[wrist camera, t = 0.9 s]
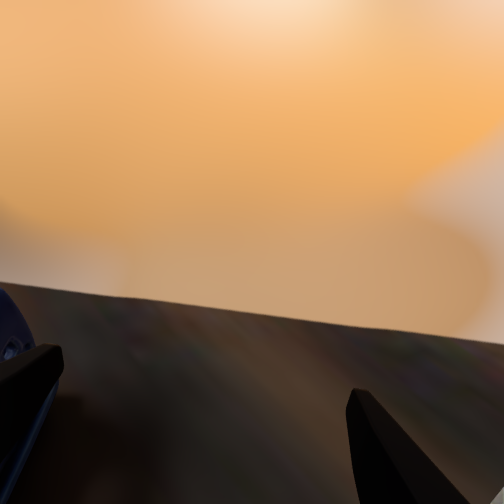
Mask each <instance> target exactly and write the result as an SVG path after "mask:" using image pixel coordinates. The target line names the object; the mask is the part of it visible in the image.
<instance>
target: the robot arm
mask: <svg viewBox="0 0 504 504" xmlns="http://www.w3.org/2000/svg"><path fill="white" fill-rule="evenodd" d="M63 369H64V361H63V355H62V349H61V347H60V345H58V344H51V343H44V344H42V345H39V346H37V347H35V348H33V349H30V350H28V351H26V352H24V353H21V354H19V355H17V356H15V357H12V358H10V359H8V360H6V361H3V362H1V363H0V464H1V463H2V461H3V460H4V459H5V457H6V456H7V455H8V453H9V452H10V451H11V449H12V448H13V447H14V445H15V444H16V443H17V441H18V440H19V438H20V437H21V436H22V434H23V433H24V432H25V430H26V429H27V428H28V426H29V425H30V423H31V422H32V420H33V419H34V417H35V416H36V414H37V413H38V411H39V410H40V408H41V406H42V405H43V403H44V401H45V400H46V398H47V397H48V395H49V393H50V392H51V390H52V388H53V387H54V385H55V384H56V382H57V380H58V379H59V377H60V376H61V374H62V372H63ZM346 421H347V429H348V437H349V445H350V453H351V460H352V468H353V474H354V479H355V484H356V488H357V492H358V497H359V501H360V504H470V503H469V502H468V501H467V500H466V499H465V497H464V496H463V495H462V494H461V493H460V492H459V491H458V490H457V489H456V487H455V486H454V485H453V484H452V483H451V482H450V481H449V480H448V479H447V477H446V476H445V475H444V474H443V473H442V472H441V471H440V470H439V469H438V467H437V466H436V465H435V464H434V463H433V462H432V461H431V460H430V459H429V457H428V456H427V455H426V454H425V453H424V452H423V451H422V450H421V449H420V447H419V446H418V445H417V444H416V443H415V442H414V441H413V440H412V439H411V437H410V436H409V435H408V434H407V433H406V432H405V431H404V430H403V429H402V427H401V426H400V425H399V424H398V423H397V422H396V421H395V420H394V419H393V417H392V416H391V415H390V414H389V413H388V412H387V411H386V410H385V409H384V408H383V406H382V405H381V404H380V403H379V402H378V401H377V400H376V399H375V398H374V396H373V395H372V394H371V393H370V392H369V391H368V390H366V389H359V388H354V389H353V390H352V391H351V394H350V397H349V400H348V403H347V407H346Z"/></svg>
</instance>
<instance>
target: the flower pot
mask: <svg viewBox="0 0 504 504" xmlns="http://www.w3.org/2000/svg"><path fill="white" fill-rule="evenodd" d="M35 347H36V346H35V342H34V339H33V336H32V333H31V331H30V329H29V327H28V325H27V323H26V321H25V319H24V317H23V315H22V314H21V312H20V310H19V309H18V307H17V306H16V304H15V303H14V302H13V300H12V299H11V298H10V296H9V295H8V294H7V293H6V292H5V291H4V290H3V289H2V288H0V363H1V362H3V361H6V360H8V359H10V358H12V357H15V356H17V355H19V354H21V353H24V352H26V351H28V350H30V349H33V348H35ZM58 385H59V380H57V382H56V384H55V385H54V387H53V388H52V390H51V392H50V393H49V395H48V397H47V398H46V400H45V401H44V403H43V405H42V406H41V408H40V410H39V411H38V413H37V414H36V416H35V417H34V419H33V420H32V422H31V423H30V425H29V426H28V428H27V429H26V430H25V432H24V433H23V434H22V436H21V437H20V438H19V440H18V441H17V443H16V444H15V445H14V447H13V448H12V449H11V451H10V452H9V453H8V455H7V456H6V457H5V459H4V460H3V461H2V463H1V464H0V504H6V503H7V501H8V499H9V497H10V495H11V493H12V490H13V488H14V486H15V484H16V482H17V480H18V477H19V475H20V473H21V471H22V469H23V467H24V464H25V462H26V460H27V458H28V456H29V454H30V452H31V450H32V447H33V445H34V443H35V440H36V438H37V436H38V434H39V431H40V429H41V427H42V425H43V422H44V420H45V418H46V416H47V413H48V411H49V409H50V407H51V404H52V402H53V399H54V397H55V394H56V392H57V389H58Z"/></svg>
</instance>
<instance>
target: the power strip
mask: <svg viewBox="0 0 504 504" xmlns="http://www.w3.org/2000/svg"><path fill="white" fill-rule="evenodd" d="M490 504H504V487H503V488H502V490H501V491H500V492H499V493H498V495H497V496H496V497H495V498H494V500H493V501H492V502H491V503H490Z"/></svg>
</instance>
